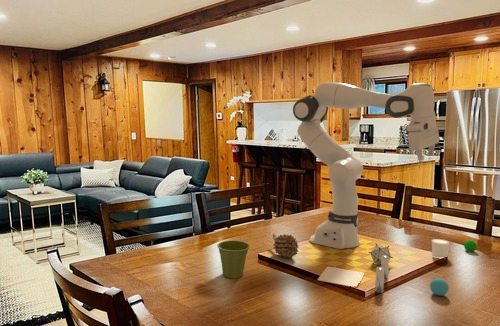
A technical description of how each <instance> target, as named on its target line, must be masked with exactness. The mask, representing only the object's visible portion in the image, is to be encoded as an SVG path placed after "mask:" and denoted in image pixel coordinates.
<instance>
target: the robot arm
mask: <svg viewBox="0 0 500 326" xmlns="http://www.w3.org/2000/svg"><path fill="white" fill-rule="evenodd" d="M292 106H293V107H292V114H293V116H294V117H295V118H296V119H297V121H300V122H301V123H300V124H299V126H298V128H297V134H298V136H299V138H300V139H301V141H302V142H303V144H304V145H305V146H306V147H307V149H309V151H310V152H311V153H312V154H313V155H314V157H316V158H317V159H318V160H319V161H320V162H321V163H324V164H325V165H327V167H329V169H328V178H329V180H330V183H331V190H332V209H331V210H329V212H328V213H327V219H326V220H324V221H323V222H322V223H320V224H319V225H318V226H317V227H316V229H315V232H314V234H311V236H310V238H309V242H310V243H312V244H314V245H315V244H316V245H320V246H326V247H328V248H329V247H330V248H334V249H338V250H340V249H341V250H342V249H349V248H350V249H351V248H357V247H358V246H360V244H361V243H360V241H359V235H358V232H359V231H358V227H359V213H358V207H359V206H358V204H359V203H358V202H359V196H358V193H357V187H356V185H357V184H356V181H357V180H359V179H360V178H361V176H362V174H363V171H364V165H363V163H362V161H360V160H359V159H358V158H356V157H354V156H353V155H352V154H351V153H350V152H349V151H348V150H346V149H345V148H343V147H342V146H341V145H340V144H338V142H337V141H336V140H335V139H334V138H333V137H332V136H331V135H330V134H328V132H327V131H326V130H325V129H324V128H323V127H322V126H321V124H322V123H323V122H324V119H325V117H326V115H327V114H328V112H329V108H335V109H340V110H353V109H359V108H365V107H375V108H381V109H385V112H386V114H387V115H389V117H392V118H395V119H401V118H404V117H408V116H410V122H409V124H407V126H406V132H408V134H407V138H408V139H407V140H408V147H409V150H410V151H411V152H415V154H416V155H417V161H421V162H422V161H424V159H425V158H424V157H425V156H424V155H423V150H424V149H427V148H428V151H427V156H428V157H433V156H434V154H435V153H434V150H435V145H436V144H438V143H440V134H439V126H437V120H436V113H435V110H434V109H435V93H434V89H433V87H432V85H430V84H429V83H423V82H417V83H416V82H414V83H411V84H410V85H409V86H407V88H405V89H404V90H402V91H400V92H398V93H396V94H395V93H394V94H393V93H384V92H377V91H371V90H367V89H364V88H361V87H358V86H355V85H352V84H348V83H345V82H344V83H343V82H337V81H336V82H335V81H334V82H333V81H325V82H320V83H319V84H318V85H317V86H316V88H315V92H314V94H313V95H312V94H308V95H307V96H304V97H302V98H300V99H298V100H297V101H296V102H295V103H294V104H293V105H292Z"/></svg>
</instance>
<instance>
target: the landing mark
mask: <svg viewBox="0 0 500 326" xmlns="http://www.w3.org/2000/svg"><path fill="white" fill-rule="evenodd" d="M364 276H365V272H361V271H356V270H352V269H351V270H349V269H343V268H339V267H338V268H337V267H334V266H327V267H326V268H325V269H324V271H323V272H322V274H320V275H319V277H318V278H317V281H320V282H325V283H331V284H335V285H341V286H346V287H350V286H351V287H350V288H355V287H354V286H357V285H358V283H360V284H361V282H362V280H363V278H364ZM360 281H361V282H360Z"/></svg>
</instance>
